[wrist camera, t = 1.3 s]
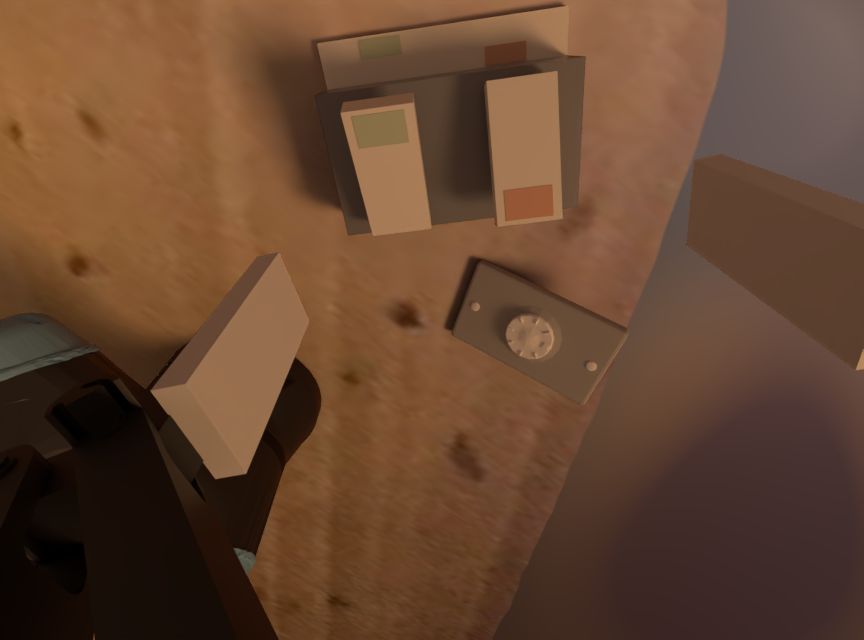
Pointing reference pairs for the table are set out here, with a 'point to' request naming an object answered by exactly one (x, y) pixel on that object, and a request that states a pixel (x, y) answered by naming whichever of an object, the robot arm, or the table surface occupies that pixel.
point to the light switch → (537, 332)
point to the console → (451, 102)
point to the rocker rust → (524, 148)
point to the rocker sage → (388, 162)
